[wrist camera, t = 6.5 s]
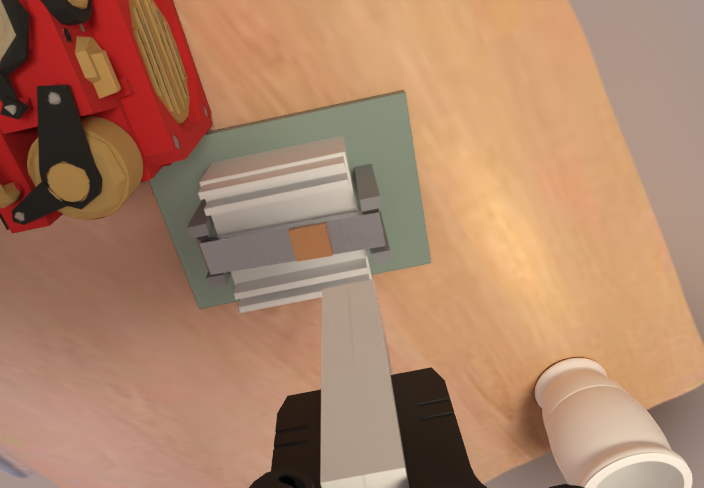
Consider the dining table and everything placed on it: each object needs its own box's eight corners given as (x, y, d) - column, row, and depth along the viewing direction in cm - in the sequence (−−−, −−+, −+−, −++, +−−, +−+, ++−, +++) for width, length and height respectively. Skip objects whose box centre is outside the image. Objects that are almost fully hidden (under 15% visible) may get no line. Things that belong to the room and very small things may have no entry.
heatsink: (201, 302, 55) (179, 360, 46) (140, 146, 47) (101, 180, 39) (429, 257, 54) (448, 308, 45) (403, 90, 46) (421, 113, 38)
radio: (220, 132, 47) (156, 221, 29) (112, 157, 48) (-15, 260, 30) (152, -67, 40) (14, -109, 22) (27, -35, 41) (-205, -50, 23)
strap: (210, 267, 46) (203, 280, 44) (198, 233, 44) (190, 244, 42) (384, 238, 44) (385, 250, 42) (378, 201, 43) (378, 212, 41)
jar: (560, 431, 65) (621, 546, 52) (506, 389, 62) (557, 501, 49) (631, 379, 62) (715, 488, 49) (578, 333, 59) (654, 435, 45)
